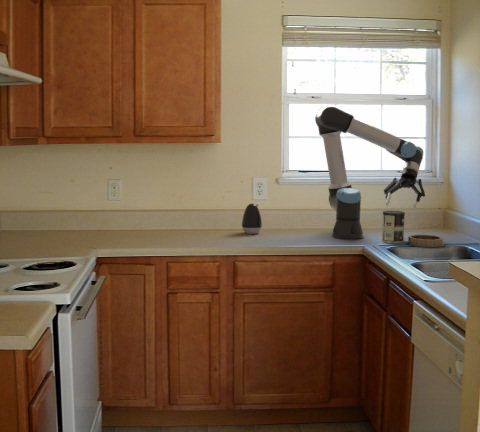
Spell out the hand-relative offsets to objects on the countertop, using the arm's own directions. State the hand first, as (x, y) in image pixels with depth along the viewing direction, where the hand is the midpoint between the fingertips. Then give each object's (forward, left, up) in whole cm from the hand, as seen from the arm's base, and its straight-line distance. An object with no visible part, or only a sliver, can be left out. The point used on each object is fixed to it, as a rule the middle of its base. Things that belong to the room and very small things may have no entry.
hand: (400, 205), depth 325 cm
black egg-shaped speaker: (-68, -26, -16) cm, 75 cm away
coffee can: (0, -11, -16) cm, 20 cm away
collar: (+15, -11, -16) cm, 25 cm away
